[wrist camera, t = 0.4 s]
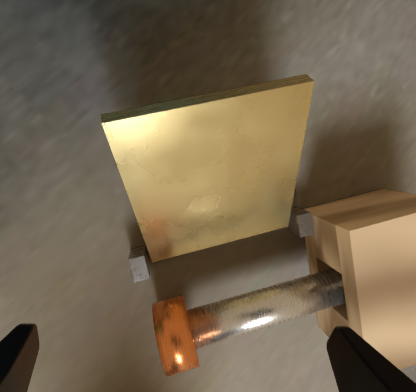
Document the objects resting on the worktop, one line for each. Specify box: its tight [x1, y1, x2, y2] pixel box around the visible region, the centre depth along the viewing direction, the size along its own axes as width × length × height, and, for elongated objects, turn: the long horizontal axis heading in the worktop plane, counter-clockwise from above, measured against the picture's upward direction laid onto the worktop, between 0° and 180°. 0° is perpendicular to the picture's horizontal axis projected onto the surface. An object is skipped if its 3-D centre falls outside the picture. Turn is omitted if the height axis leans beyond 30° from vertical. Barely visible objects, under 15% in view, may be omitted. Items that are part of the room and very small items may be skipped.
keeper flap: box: [101, 74, 314, 262], centre depth 18 cm, size 11×10×1 cm
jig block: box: [304, 189, 416, 370], centre depth 22 cm, size 10×7×6 cm
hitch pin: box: [152, 268, 346, 377], centre depth 21 cm, size 4×13×4 cm, turn 102°
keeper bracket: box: [128, 207, 314, 282], centre depth 22 cm, size 2×13×2 cm, turn 102°
